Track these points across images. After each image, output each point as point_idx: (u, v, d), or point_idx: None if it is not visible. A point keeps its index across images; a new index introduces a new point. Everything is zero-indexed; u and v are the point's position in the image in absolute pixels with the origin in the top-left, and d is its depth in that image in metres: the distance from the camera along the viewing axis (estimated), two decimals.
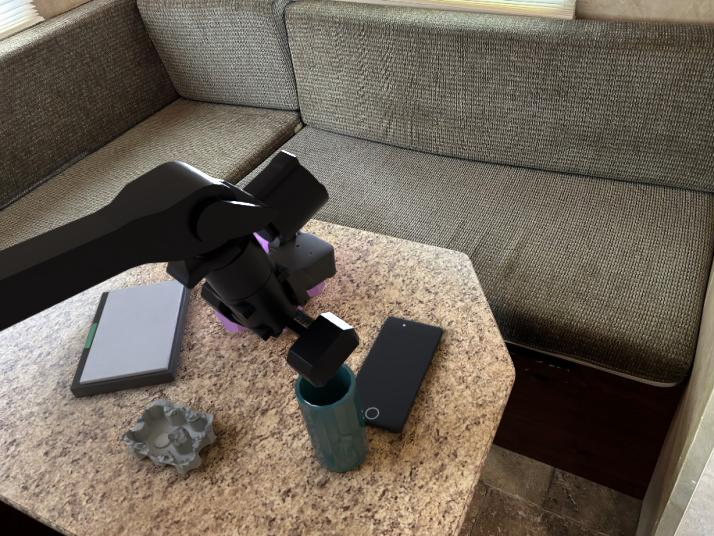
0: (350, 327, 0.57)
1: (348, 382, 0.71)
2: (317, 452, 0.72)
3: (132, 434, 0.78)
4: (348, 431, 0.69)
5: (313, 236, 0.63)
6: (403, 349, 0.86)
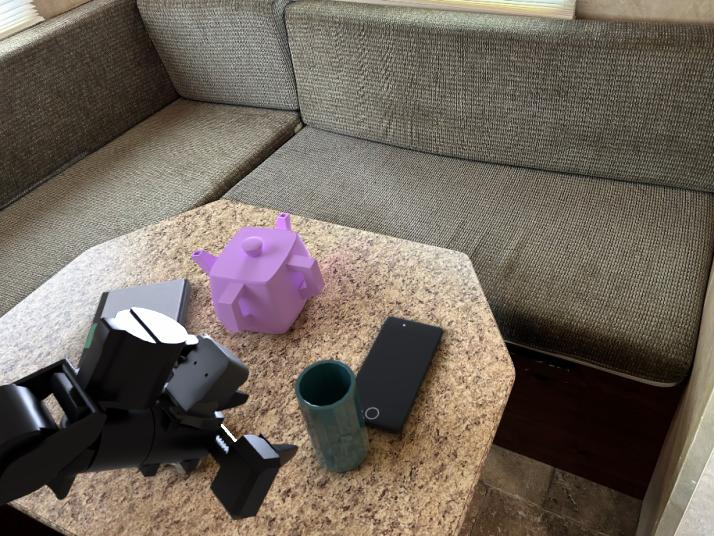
0: (260, 460, 0.51)
1: (348, 382, 0.71)
2: (317, 452, 0.72)
3: None
4: (348, 431, 0.69)
5: (211, 343, 0.55)
6: (403, 349, 0.86)
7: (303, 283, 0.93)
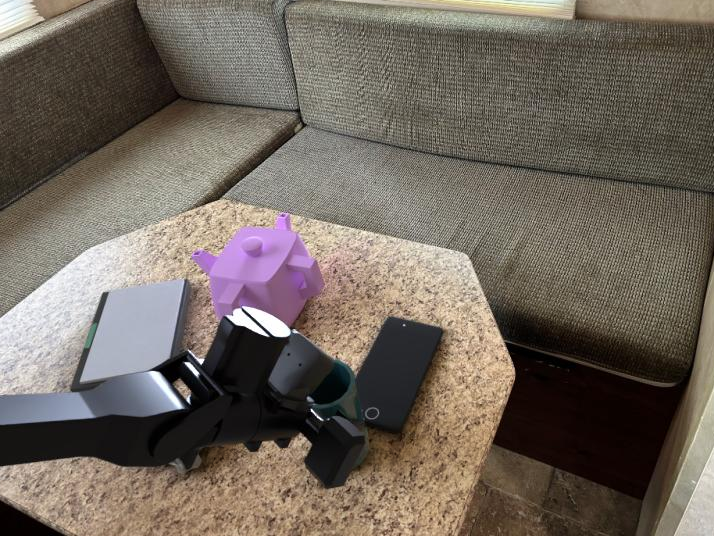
0: (350, 437, 0.60)
1: (348, 381, 0.71)
2: None
3: None
4: None
5: (302, 338, 0.63)
6: (403, 349, 0.86)
7: (303, 283, 0.93)
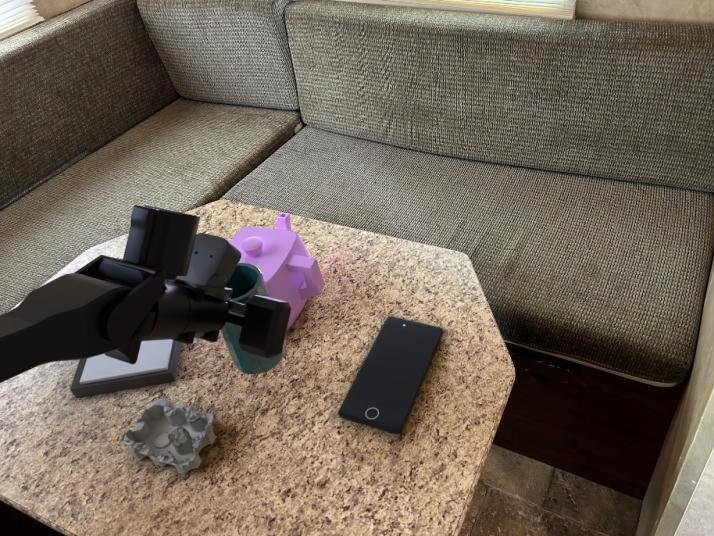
0: (277, 303, 0.65)
1: (252, 282, 0.75)
2: (239, 357, 0.75)
3: (132, 434, 0.78)
4: None
5: (204, 235, 0.67)
6: (403, 349, 0.86)
7: (303, 283, 0.93)
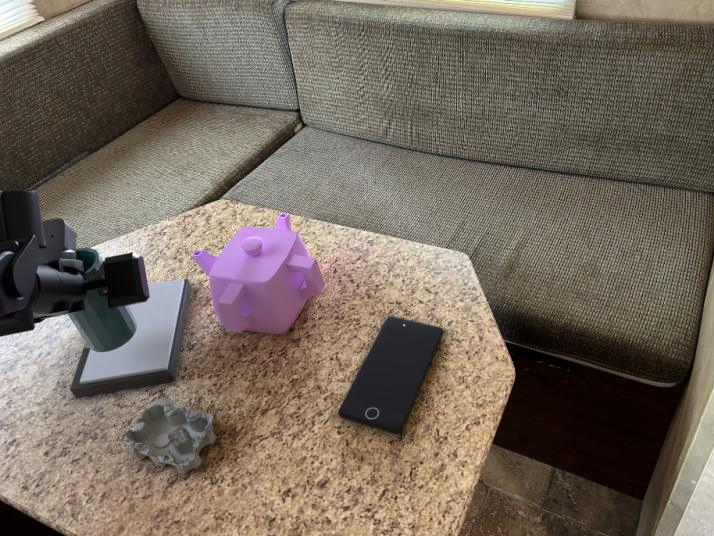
0: (131, 253, 0.74)
1: (85, 265, 0.81)
2: (100, 335, 0.81)
3: (132, 434, 0.78)
4: None
5: None
6: (403, 349, 0.86)
7: (303, 283, 0.93)
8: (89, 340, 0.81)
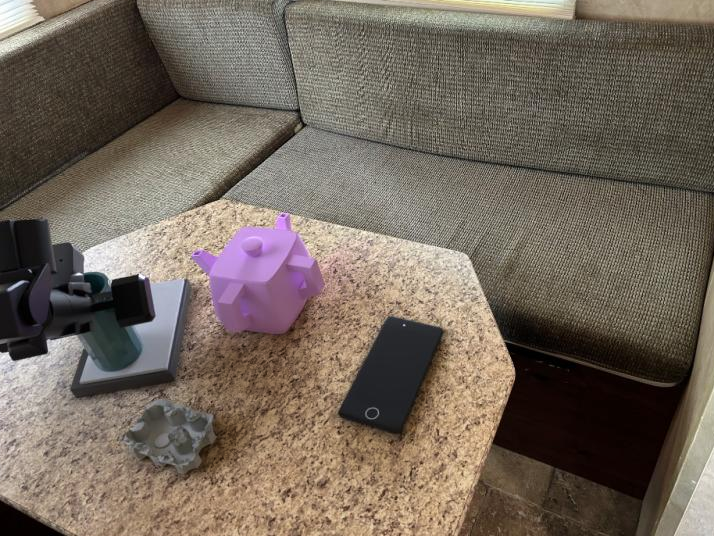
0: (137, 275, 0.77)
1: (93, 288, 0.84)
2: (108, 356, 0.83)
3: (132, 434, 0.78)
4: None
5: None
6: (403, 349, 0.86)
7: (303, 283, 0.93)
8: (98, 360, 0.84)
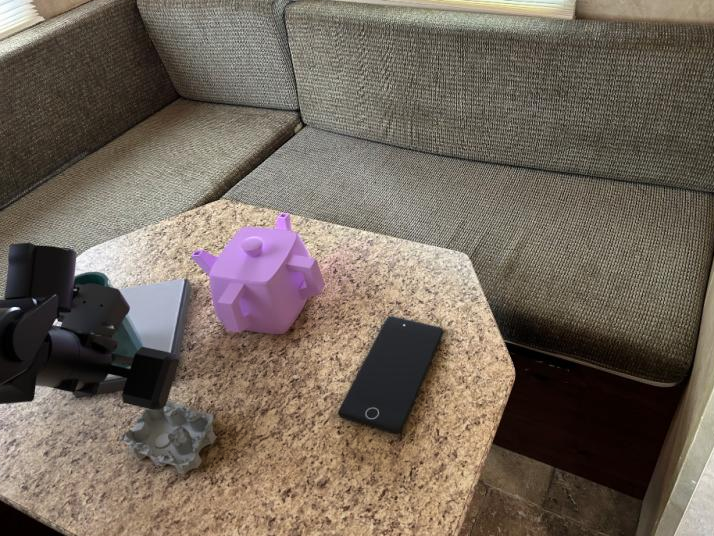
0: (167, 353, 0.66)
1: None
2: None
3: (132, 434, 0.78)
4: None
5: (94, 285, 0.67)
6: (403, 349, 0.86)
7: (303, 283, 0.93)
8: None
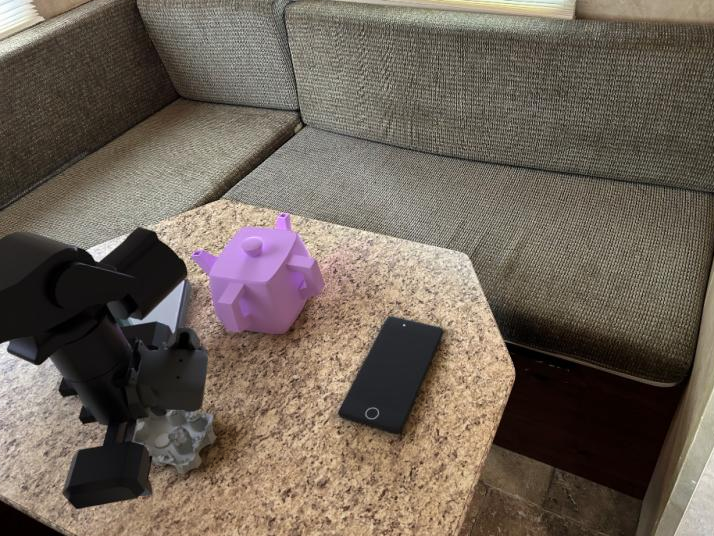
0: (134, 477, 0.50)
1: None
2: None
3: None
4: None
5: (204, 361, 0.57)
6: (403, 349, 0.86)
7: (303, 283, 0.93)
8: None
